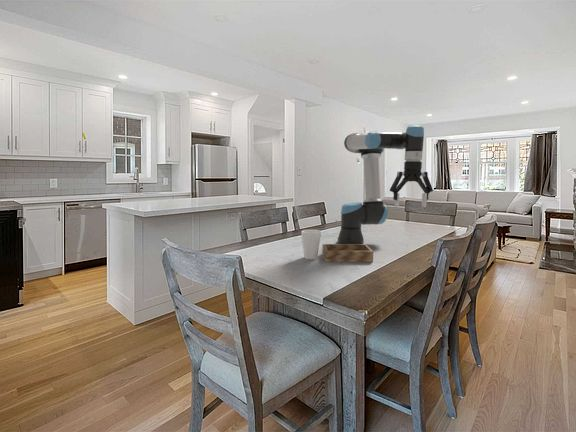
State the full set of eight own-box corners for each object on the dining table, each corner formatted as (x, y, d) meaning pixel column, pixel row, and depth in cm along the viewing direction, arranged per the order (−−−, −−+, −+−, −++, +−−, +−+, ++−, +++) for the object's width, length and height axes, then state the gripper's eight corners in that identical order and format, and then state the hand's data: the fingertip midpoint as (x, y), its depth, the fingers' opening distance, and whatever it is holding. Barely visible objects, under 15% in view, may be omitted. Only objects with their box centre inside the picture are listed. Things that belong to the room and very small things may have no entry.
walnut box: (325, 261, 156) (326, 251, 155) (322, 253, 171) (322, 244, 170) (372, 261, 156) (373, 251, 155) (365, 253, 171) (365, 244, 170)
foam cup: (298, 259, 160) (298, 232, 158) (304, 254, 169) (304, 229, 167) (317, 261, 157) (318, 233, 155) (322, 256, 165) (323, 230, 164)
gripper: (391, 160, 148) (388, 208, 151) (443, 161, 151) (439, 207, 155) (383, 160, 155) (381, 206, 158) (433, 161, 159) (430, 205, 162)
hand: (410, 207), depth 156 cm, fingers open, 13 cm apart
